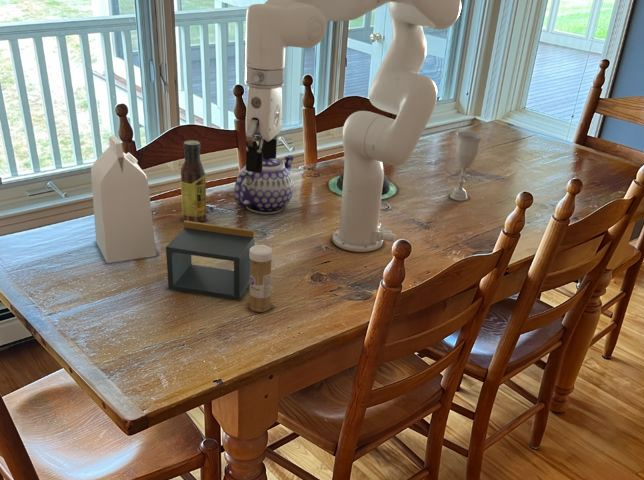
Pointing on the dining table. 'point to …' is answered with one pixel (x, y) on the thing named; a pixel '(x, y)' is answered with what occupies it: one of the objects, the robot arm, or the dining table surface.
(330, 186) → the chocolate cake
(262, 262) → the sprinkles bottle
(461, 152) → the chalice
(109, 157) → the milk
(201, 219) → the sauce bottle
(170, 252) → the shelf
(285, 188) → the teapot
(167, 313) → the dining table surface
